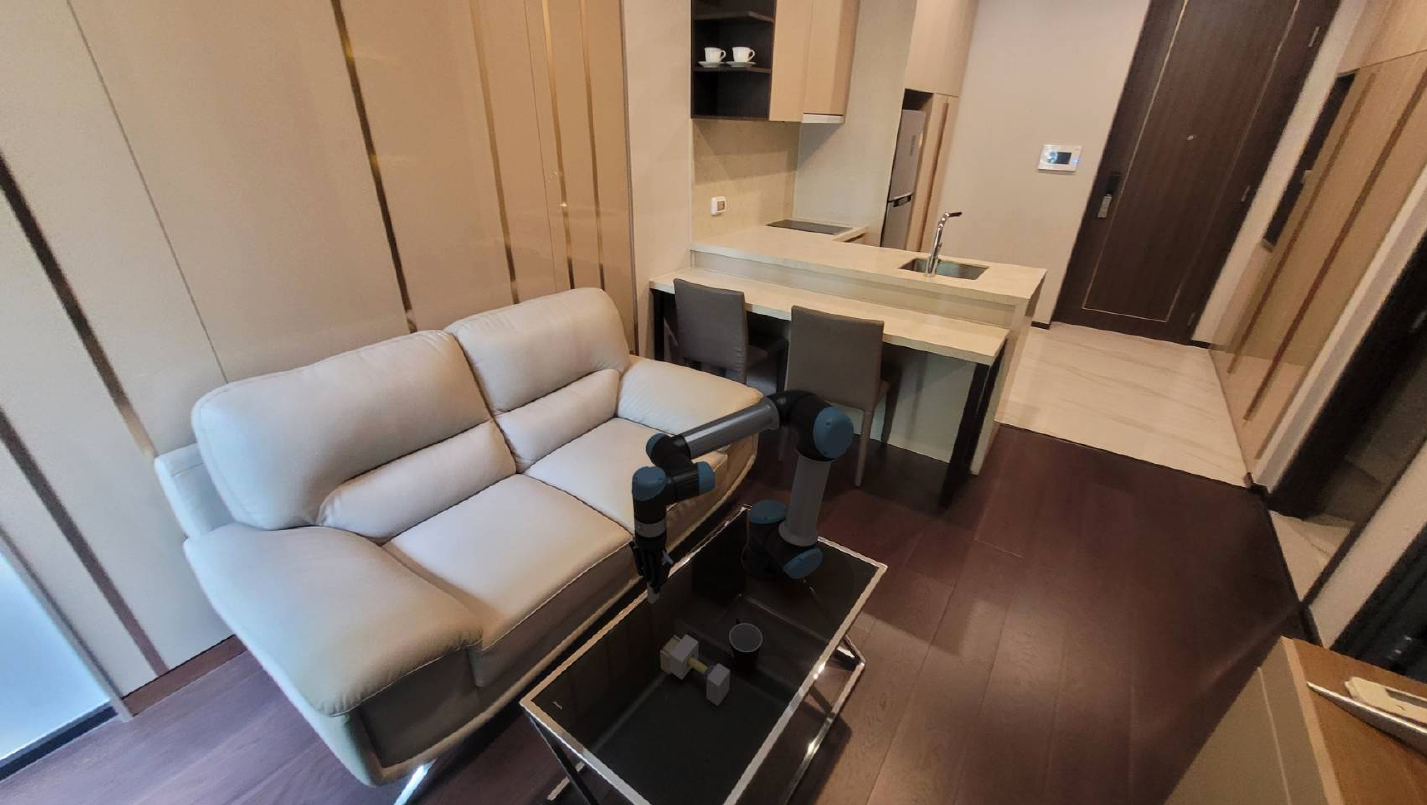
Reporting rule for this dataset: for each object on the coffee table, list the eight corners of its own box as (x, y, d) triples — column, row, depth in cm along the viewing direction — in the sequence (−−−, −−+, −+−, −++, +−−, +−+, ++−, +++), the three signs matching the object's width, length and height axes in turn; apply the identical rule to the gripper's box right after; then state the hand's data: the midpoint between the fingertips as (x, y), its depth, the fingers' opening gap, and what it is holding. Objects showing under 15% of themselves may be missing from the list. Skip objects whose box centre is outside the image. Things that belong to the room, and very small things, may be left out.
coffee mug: (757, 680, 136) (760, 655, 131) (725, 673, 137) (726, 648, 132) (763, 641, 146) (765, 617, 141) (732, 636, 147) (734, 611, 142)
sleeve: (669, 671, 135) (669, 653, 131) (686, 651, 140) (686, 634, 136) (682, 679, 133) (681, 662, 129) (698, 659, 138) (698, 642, 134)
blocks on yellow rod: (660, 668, 138) (660, 648, 134) (675, 652, 142) (674, 632, 139) (716, 707, 129) (717, 687, 125) (730, 689, 133) (731, 669, 130)
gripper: (618, 525, 122) (624, 596, 133) (661, 549, 115) (663, 622, 126) (640, 508, 127) (644, 578, 138) (682, 530, 121) (682, 601, 132)
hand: (653, 599), depth 132 cm, fingers closed
